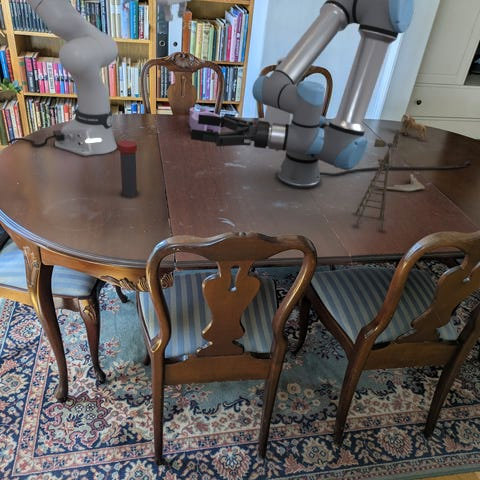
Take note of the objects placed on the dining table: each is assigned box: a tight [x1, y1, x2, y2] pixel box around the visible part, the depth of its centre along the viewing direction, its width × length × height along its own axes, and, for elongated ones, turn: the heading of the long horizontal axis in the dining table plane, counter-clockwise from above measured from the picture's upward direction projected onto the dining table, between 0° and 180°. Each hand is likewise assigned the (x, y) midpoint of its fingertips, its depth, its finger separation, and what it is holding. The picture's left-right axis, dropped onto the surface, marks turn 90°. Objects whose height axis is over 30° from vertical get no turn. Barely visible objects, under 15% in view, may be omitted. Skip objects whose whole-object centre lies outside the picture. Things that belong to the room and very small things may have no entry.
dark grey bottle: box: [119, 151, 138, 198], centre depth 143 cm, size 4×4×16 cm
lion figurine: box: [400, 113, 429, 141], centre depth 217 cm, size 15×5×9 cm, turn 50°
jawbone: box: [377, 173, 426, 193], centre depth 169 cm, size 9×20×2 cm, turn 126°
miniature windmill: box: [354, 129, 400, 232], centre depth 137 cm, size 9×8×30 cm
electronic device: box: [262, 56, 293, 124], centre depth 204 cm, size 12×8×30 cm, turn 71°
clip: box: [188, 106, 222, 133], centre depth 199 cm, size 20×12×7 cm, turn 23°
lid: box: [117, 139, 138, 154], centre depth 139 cm, size 5×5×2 cm
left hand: (175, 19), depth 144 cm, fingers open, 8 cm apart
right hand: (194, 126), depth 133 cm, fingers open, 13 cm apart
